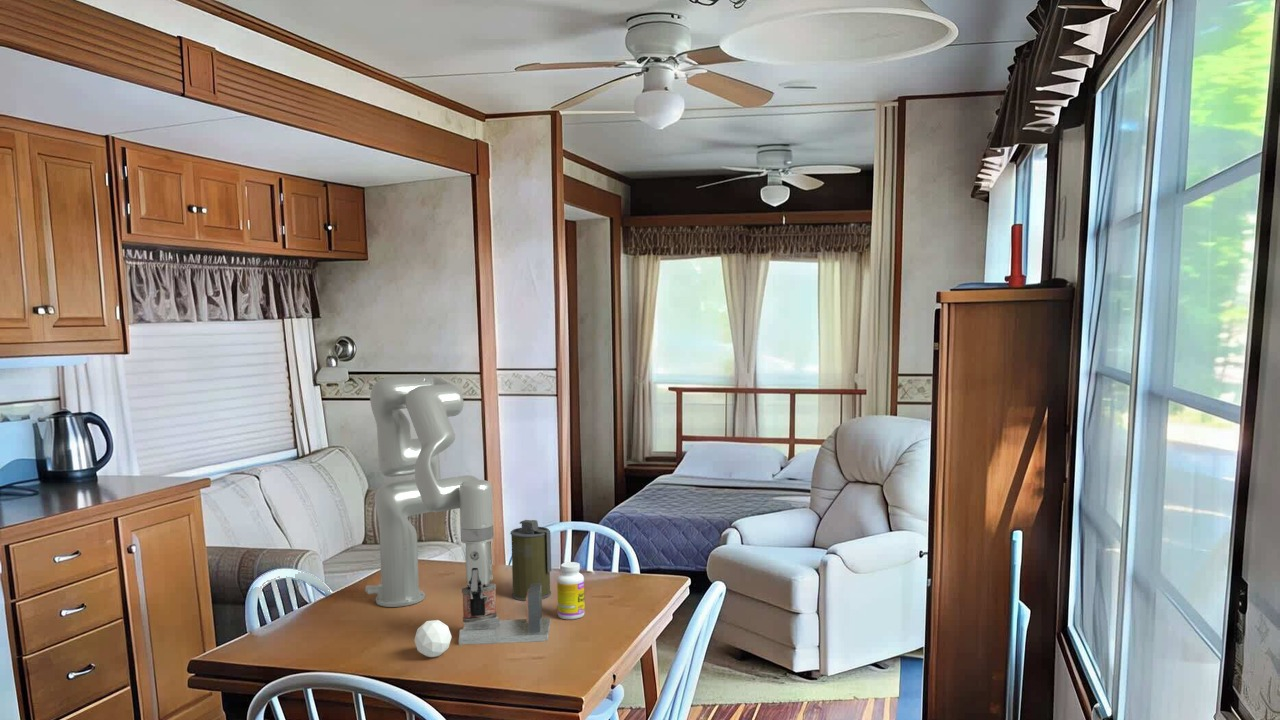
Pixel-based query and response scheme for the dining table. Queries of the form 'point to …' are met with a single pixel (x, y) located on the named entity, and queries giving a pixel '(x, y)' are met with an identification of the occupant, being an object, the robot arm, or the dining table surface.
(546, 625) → the finger rail
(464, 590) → the lighter
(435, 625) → the geometric ball
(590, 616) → the dining table surface
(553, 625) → the dining table surface
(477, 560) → the robot arm
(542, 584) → the canister
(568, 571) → the supplement bottle
